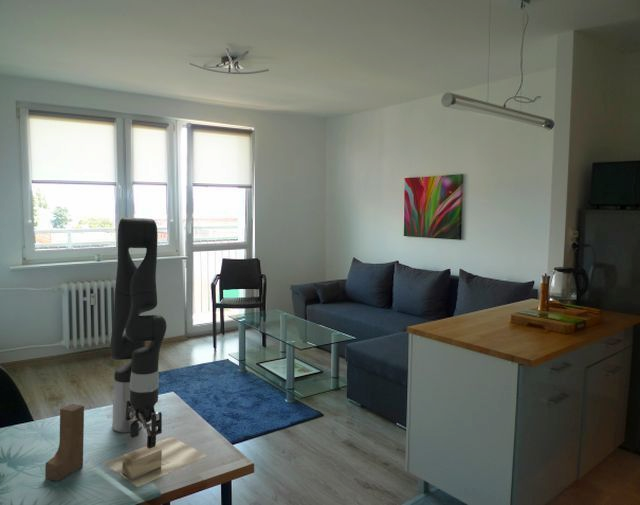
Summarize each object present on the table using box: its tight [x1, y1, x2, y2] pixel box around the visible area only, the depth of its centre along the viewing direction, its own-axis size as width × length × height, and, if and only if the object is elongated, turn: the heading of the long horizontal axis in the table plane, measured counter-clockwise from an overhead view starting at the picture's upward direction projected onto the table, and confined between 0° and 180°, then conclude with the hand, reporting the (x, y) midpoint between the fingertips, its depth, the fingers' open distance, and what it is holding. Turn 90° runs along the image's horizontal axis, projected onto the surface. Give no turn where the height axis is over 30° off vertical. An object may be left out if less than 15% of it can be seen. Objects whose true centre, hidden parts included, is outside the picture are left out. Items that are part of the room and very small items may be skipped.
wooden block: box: [44, 403, 85, 482], centre depth 131 cm, size 9×4×18 cm, turn 162°
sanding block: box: [122, 445, 162, 481], centre depth 132 cm, size 5×9×6 cm, turn 142°
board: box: [103, 436, 208, 488], centre depth 139 cm, size 18×23×1 cm
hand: (142, 441), depth 132 cm, fingers open, 8 cm apart
